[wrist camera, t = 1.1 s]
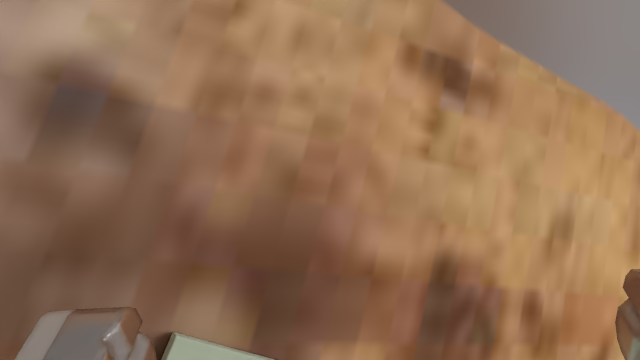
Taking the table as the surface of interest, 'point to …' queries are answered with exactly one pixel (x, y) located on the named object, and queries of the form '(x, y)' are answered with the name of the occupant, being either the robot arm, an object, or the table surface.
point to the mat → (203, 350)
